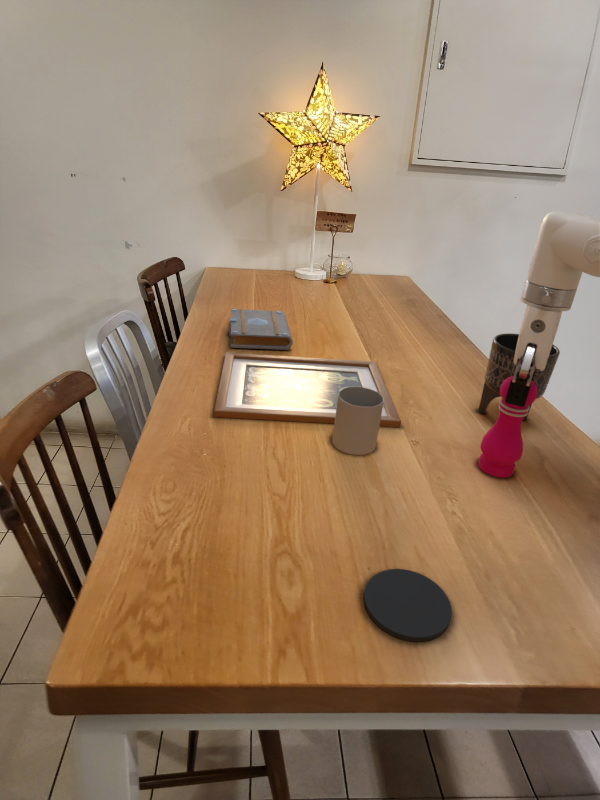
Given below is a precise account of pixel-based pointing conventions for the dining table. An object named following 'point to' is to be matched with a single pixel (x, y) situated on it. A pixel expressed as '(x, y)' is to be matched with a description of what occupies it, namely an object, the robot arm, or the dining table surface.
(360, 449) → the cup
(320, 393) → the wall art
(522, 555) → the dining table surface
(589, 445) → the dining table surface
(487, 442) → the pepper mill
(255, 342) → the book
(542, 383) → the planter
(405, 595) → the trivet
